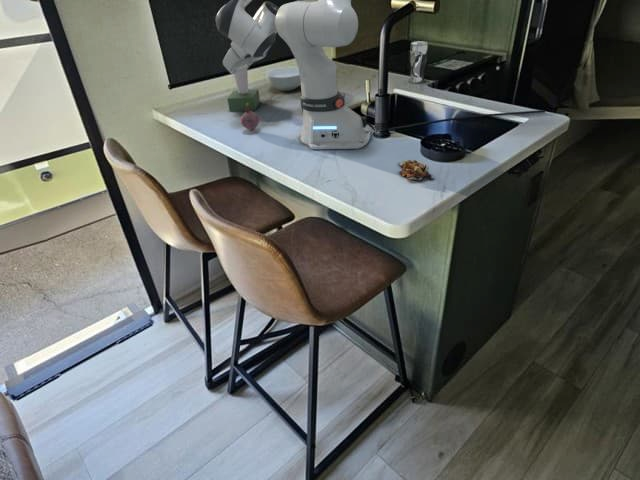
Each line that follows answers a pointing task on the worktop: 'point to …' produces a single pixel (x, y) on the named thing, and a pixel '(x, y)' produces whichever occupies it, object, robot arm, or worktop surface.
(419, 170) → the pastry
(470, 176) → the worktop surface
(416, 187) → the worktop surface
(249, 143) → the worktop surface
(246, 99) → the green block
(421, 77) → the beer glass
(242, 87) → the smoothie
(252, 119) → the vegetable
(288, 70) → the cereal bowl
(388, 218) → the worktop surface
